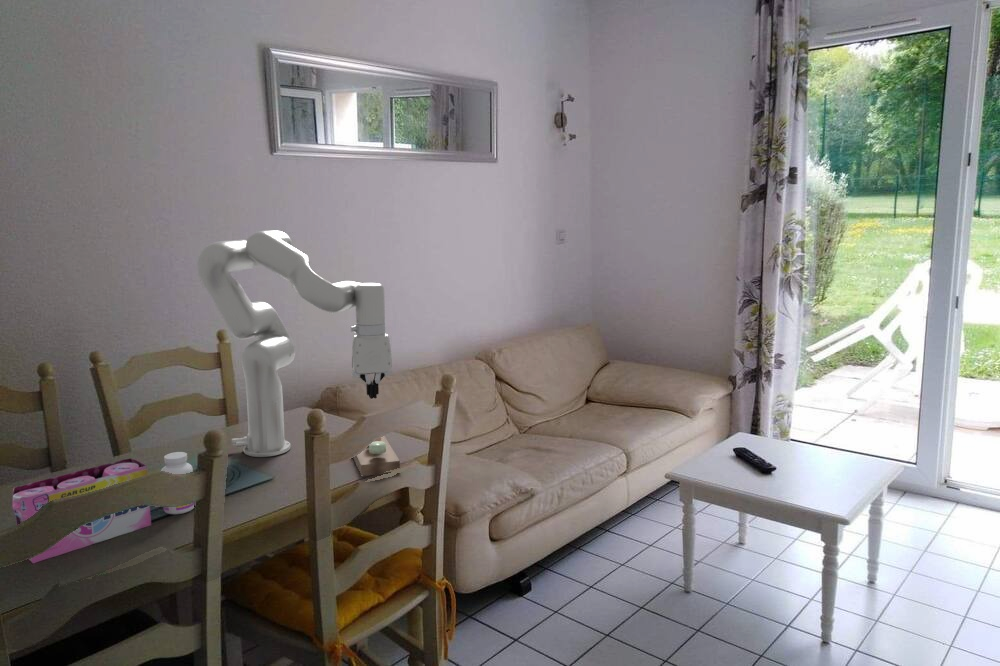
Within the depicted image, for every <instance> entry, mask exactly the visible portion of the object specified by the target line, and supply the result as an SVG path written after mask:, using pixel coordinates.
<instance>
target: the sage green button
mask: <svg viewBox="0 0 1000 666" xmlns="http://www.w3.org/2000/svg"><path fill="white" fill-rule="evenodd" d="M369 452H370V453H372V454H382V453H385V452H386V443H385V442H382V441H375V442H372V443H371V444H369Z"/></svg>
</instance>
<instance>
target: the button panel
mask: <svg viewBox="0 0 1000 666" xmlns="http://www.w3.org/2000/svg"><path fill="white" fill-rule="evenodd" d="M381 441H382V442H385V443H386V452H385V453H382V454H372V453H370V452H369V446H368V447H367V448H366V449H365V450H364V451H362V452H361V453H360V454H358V455H356V456H355V457H354V458H353V461H354V460H355V461H354V462H356V463H355V465H356V464H357V465H356V467H357V466H358V468H359V470H358V471H360V472H359V474H360V473H361V474H360V476H361V475H366V476H367V477H368V476H376V475H382V474H381V473H384V472H386V471H390V470H394V469H397V468H400V469H401V461H400V458H399V457H398V456H397V454H396V451H394V449H393V447H392V446H391V444H390V443H389V441H388V440H387V438H386V436H385V435H384V436H383V437H381ZM358 468H357V469H358ZM366 476H365V477H366Z"/></svg>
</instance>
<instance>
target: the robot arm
mask: <svg viewBox="0 0 1000 666" xmlns="http://www.w3.org/2000/svg"><path fill="white" fill-rule="evenodd" d="M310 262H311V261H310V257H309V256H308V254H305V253H303V252H302V251H300V250H299V249H297V248H296V247H294V244H293V241H292V239H291V238H290V236H289V235H288V234H287V233H285V232H283V231H281V230H276V229H273V230H259V231H255V232H253V233H251V235H249V237H247V238H242V239H234V240H220V241H219V240H218V241H214V242H211V243H210V244H208V245H206V246H205V247H204V248H203V249H201V251H200V253H199V255H198V258H197V262H196V271H197V275H198V279H199V280H200V282H201V284H202V285H203V288H204V289H205V290H206V292H207V294H208V295H209V297H210V298H211V299H212V302H213V303H214V305H215V307H216V309H217V311H218V312H219V315H220V316H221V318H222V319H223V322H224V324H225V325H226V327H227V329H228V331H229V332H230V334H231V335H232V336H233V337H234V338H236V339H238V340H249V339H251V338H256V339H257V340H254V341H252V342H250V343H249V344H247V345H246V347H244V349H243V350H242V352H241V356H240V360H241V361H240V363H241V368H242V372H243V376H244V381H245V393H246V394H245V395H246V409H247V410H246V411H247V427H248V428H247V429H248V433H247V435H246V436H243V437H240V438H239V437H236V438H235V437H234V438H231V446H236V448H239V447H240V448H241V447H243V453H244V454H245V455H247V456H250V457H255V458H269V457H276V456H280V455H282V454H285V453H287V452H289V450H291V445H292V444H291V442H289V441H288V440H286V439H285V419H284V416H285V415H284V400H283V399H284V398H283V396H284V395H283V386H282V385H283V384H282V382H281V381H282V380H281V378H280V376H279V373H278V370H279V369H280V370H281V368H284V367H287V366H288V365H290V364H291V363H292V362H293V361H294V359H295V356H296V351H297V350H296V346H295V343H294V341H293V338H292V337H291V335H290V333H289V330H288V329H287V328H286V326H285V324H284V322H283V320H282V319H281V317H280V315H279V314H278V312H277V310H276V309H275V308H274V307H273V306H272V305H270V303H267V302H265V301H253V302H252V301H251V299H250V298H249V297H248V295H247V294H246V291H245V290H244V289H245V288H244V287H243V286H242V285H241V284H240V282H238V280H237V279H235V277H234V276H232V275H231V272H232V273H233V272H238V271H244V270H245V271H246V270H250V269H255V268H258V267H262V266H263V267H264V268H265V269H268V270H269V271H271V272H273V273H274V274H275V275H277V276H279V277H280V278H282V279H284V280H285V281H287V282H288V283H290V285H291V286H292V288H293V289H294V291H296V293H297V294H298V296H300V297H301V298H302V299H304V300H305V301H306V302H308V303H310V304H311V305H313V306H315V307H316V308H318V309H320V310H321V311H324V312H326V313H329V314H337V313H341V312H344V311H347V310H352V309H355V325H354V326H350V332H351V333H355V335H353V340H352V350H351V352H352V353H351V368H352V371H351V377H352V378H356V379H361V380H362V381H363V382H364V383H365V384H366V385H365V386H366V387H365V389H366V395H367V396H368V397H369V398H370V400H371V399H377V396H378V395H379V391H380V390H379V384H380V382H381V381H382V380H383V379H384V377H388V376H390V375H393V358H392V357H393V356H392V347H391V342H390V341H391V340H390V337H389V334H388V333H386V310H385V307H386V306H385V288H384V286H383V284H381V283H379V282H377V283H376V282H363V283H362V282H356V281H352V280H344V281H343V280H342V281H339V282H334V283H332V282H330V281H329V280H326V279H325V278H323V277H321V276H320V275H318V274H317V273H316V272H314V271H313V270H312V268H311V267H310ZM370 374H371V375H372V374H373V380H371V376H370Z"/></svg>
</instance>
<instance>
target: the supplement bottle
mask: <svg viewBox="0 0 1000 666" xmlns="http://www.w3.org/2000/svg"><path fill="white" fill-rule="evenodd" d="M187 461H188V453H187V452H184V451H175V452H170V453H168V454H165V455H164V457H163V462H164V464H165V465H164V466H163V467H162V468H161V470H160V472H161V471H165V472H169V473H172V474H186V473H190V472H193V473H194V467H193V465H191V464H190V463H189V462H187ZM162 509H163V512H165V513H166V514H168V515H181V514H185V513H188V512H191V511H192V510H193V509H195V507H194V503H191V504H187V505H183V506H178V507H163V506H162Z"/></svg>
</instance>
